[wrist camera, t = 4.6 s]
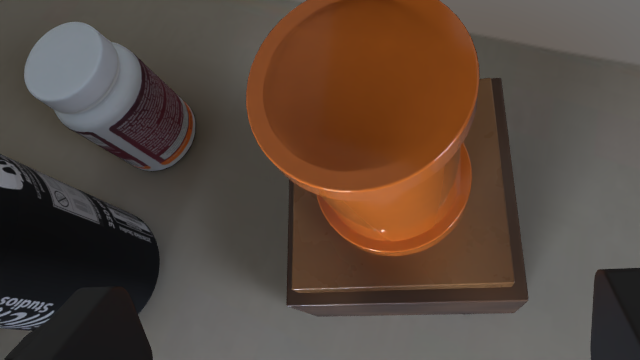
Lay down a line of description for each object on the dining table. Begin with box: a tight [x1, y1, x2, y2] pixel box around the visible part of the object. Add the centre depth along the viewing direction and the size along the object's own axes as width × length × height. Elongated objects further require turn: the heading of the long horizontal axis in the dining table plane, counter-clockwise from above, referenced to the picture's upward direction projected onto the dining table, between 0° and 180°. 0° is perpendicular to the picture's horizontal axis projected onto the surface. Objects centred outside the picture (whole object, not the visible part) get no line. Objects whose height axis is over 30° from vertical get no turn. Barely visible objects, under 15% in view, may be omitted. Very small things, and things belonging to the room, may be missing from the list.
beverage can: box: [0, 154, 160, 331], centre depth 23 cm, size 7×7×12 cm
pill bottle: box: [24, 22, 195, 171], centre depth 27 cm, size 5×5×8 cm
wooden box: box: [287, 78, 529, 317], centre depth 23 cm, size 9×9×6 cm
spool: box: [246, 0, 480, 256], centre depth 17 cm, size 6×6×8 cm
